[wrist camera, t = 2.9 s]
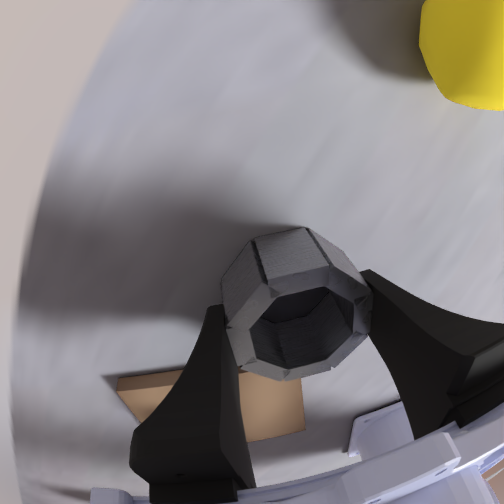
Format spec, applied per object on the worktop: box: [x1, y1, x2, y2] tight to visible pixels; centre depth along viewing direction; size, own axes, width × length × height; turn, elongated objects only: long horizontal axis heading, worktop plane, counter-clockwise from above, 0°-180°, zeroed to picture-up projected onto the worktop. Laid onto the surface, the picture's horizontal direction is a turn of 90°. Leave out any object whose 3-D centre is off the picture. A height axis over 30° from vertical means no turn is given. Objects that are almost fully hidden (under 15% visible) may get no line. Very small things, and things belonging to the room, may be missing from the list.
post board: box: [116, 366, 306, 442], centre depth 16 cm, size 10×8×5 cm
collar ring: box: [221, 227, 373, 382], centre depth 13 cm, size 6×6×3 cm
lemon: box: [419, 0, 504, 111], centre depth 7 cm, size 7×5×5 cm
